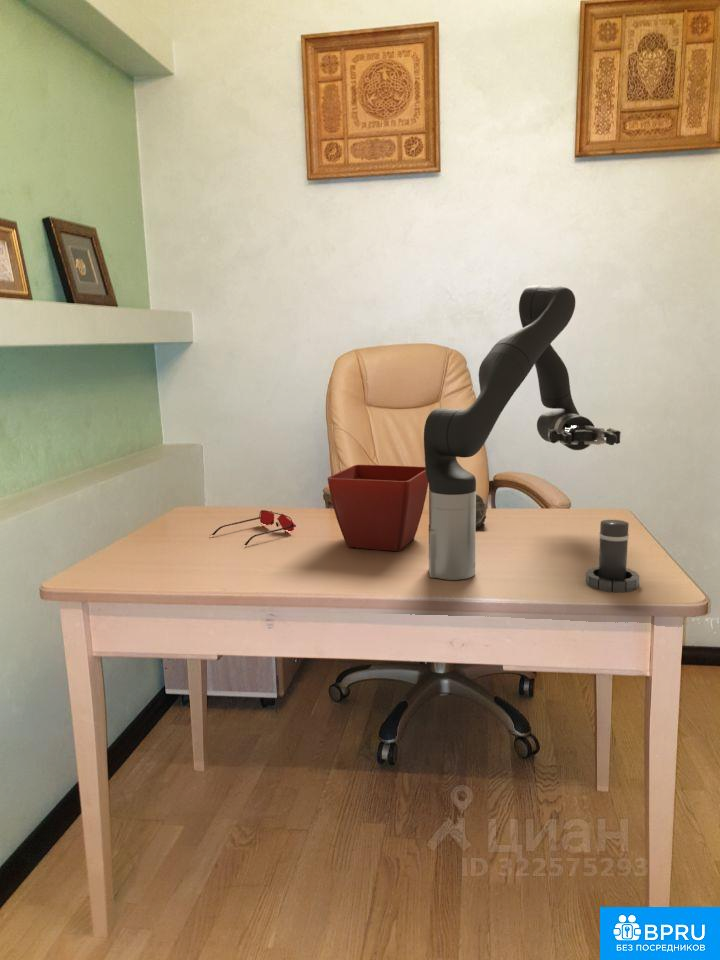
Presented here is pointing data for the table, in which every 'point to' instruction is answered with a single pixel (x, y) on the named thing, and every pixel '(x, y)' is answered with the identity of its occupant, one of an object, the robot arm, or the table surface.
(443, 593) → the table surface
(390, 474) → the plant pot
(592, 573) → the block ring
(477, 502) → the fossil
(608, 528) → the dark grey canister
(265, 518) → the glasses
